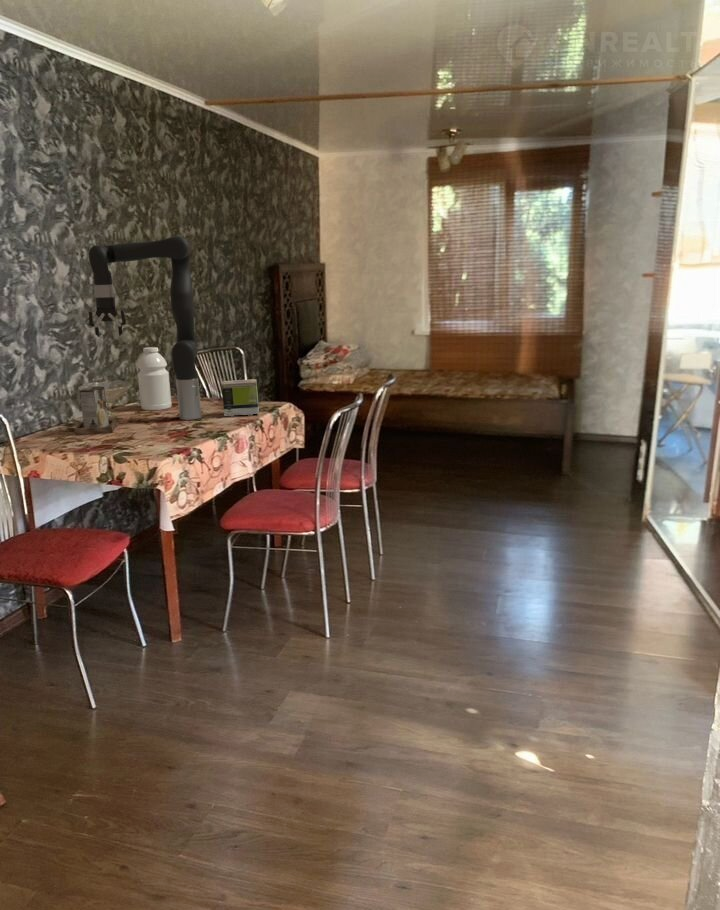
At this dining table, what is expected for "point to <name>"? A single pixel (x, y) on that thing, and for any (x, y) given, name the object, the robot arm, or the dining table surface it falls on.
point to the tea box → (240, 397)
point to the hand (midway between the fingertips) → (109, 336)
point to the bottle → (153, 381)
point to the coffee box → (94, 407)
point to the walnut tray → (95, 429)
